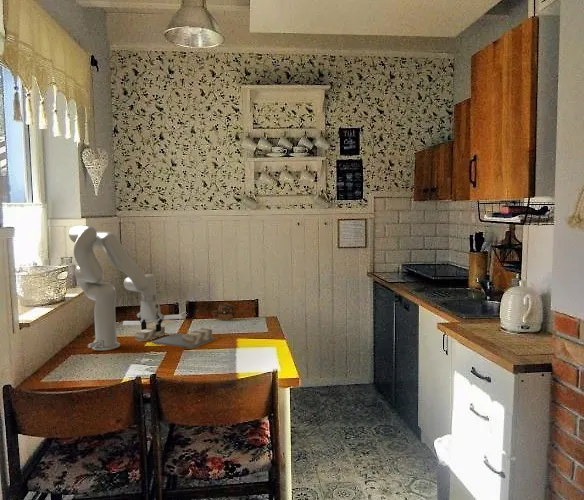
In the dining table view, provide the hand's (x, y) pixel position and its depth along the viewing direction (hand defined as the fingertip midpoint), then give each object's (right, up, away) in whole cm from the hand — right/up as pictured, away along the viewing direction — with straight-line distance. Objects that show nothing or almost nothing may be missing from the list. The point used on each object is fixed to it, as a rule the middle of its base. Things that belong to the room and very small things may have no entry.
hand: (151, 330), depth 259 cm
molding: (-9, -1, +42) cm, 43 cm away
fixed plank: (+27, -4, -13) cm, 30 cm away
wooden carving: (+33, 0, +38) cm, 50 cm away
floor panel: (+19, -4, -9) cm, 22 cm away
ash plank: (0, -4, 0) cm, 4 cm away
